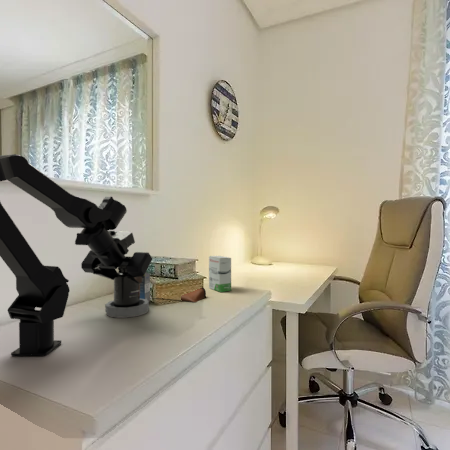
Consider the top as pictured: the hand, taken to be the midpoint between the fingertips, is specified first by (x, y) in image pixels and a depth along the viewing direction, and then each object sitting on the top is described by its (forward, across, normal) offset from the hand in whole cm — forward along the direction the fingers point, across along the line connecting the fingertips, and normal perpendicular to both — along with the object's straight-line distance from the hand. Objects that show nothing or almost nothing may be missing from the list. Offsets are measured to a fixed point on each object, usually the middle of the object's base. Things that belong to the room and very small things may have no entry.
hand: (130, 281), depth 91 cm
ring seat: (+5, 0, +6) cm, 8 cm away
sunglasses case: (+19, -4, -7) cm, 20 cm away
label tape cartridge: (+12, +5, 0) cm, 13 cm away
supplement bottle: (+4, 0, +6) cm, 7 cm away
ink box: (+30, -13, -18) cm, 37 cm away
